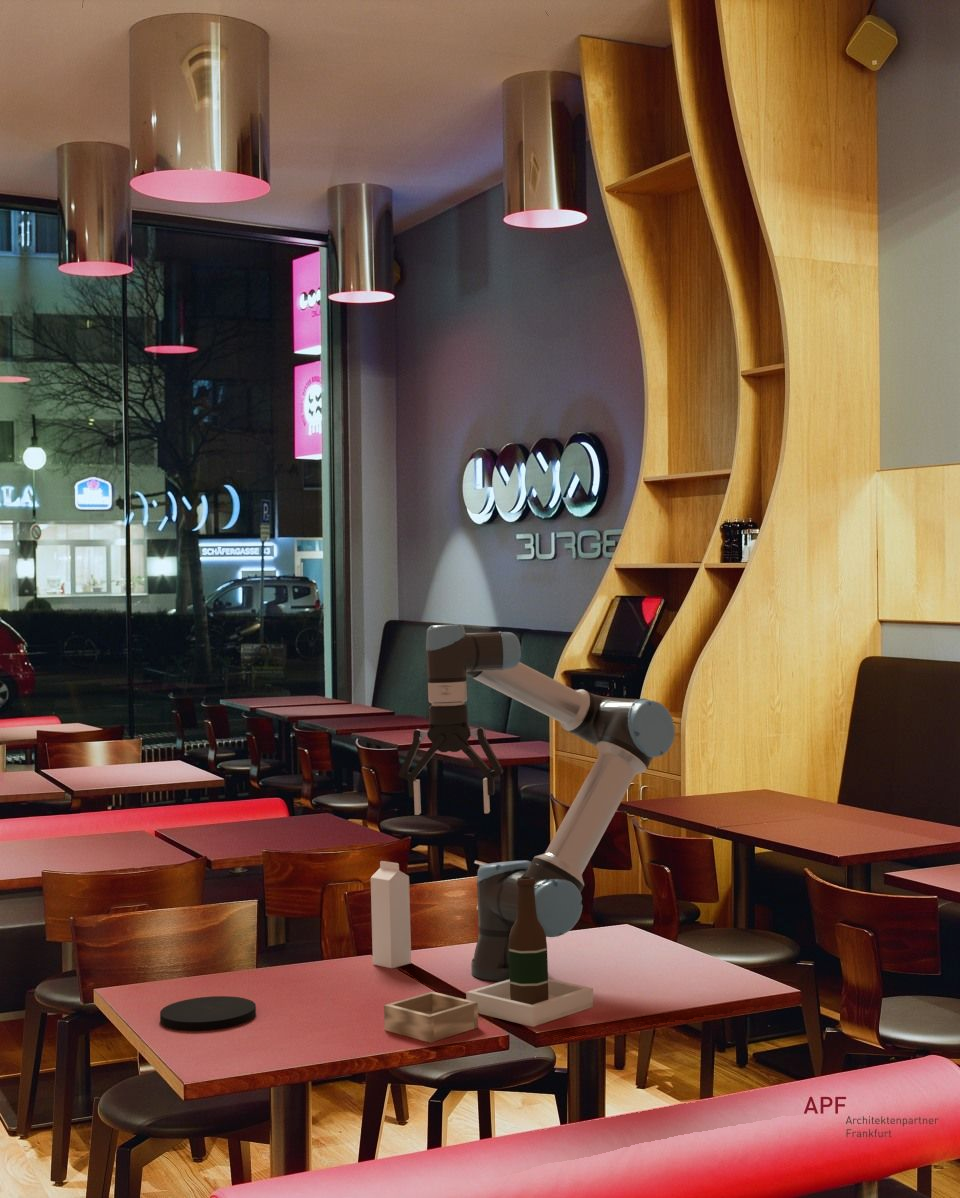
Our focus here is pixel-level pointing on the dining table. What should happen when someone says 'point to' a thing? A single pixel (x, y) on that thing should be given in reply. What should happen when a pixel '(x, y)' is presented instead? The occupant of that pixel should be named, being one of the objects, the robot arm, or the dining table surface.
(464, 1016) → the box
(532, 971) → the beer bottle
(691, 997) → the dining table surface
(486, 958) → the robot arm
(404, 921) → the milk
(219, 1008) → the wireless charger
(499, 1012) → the tray
